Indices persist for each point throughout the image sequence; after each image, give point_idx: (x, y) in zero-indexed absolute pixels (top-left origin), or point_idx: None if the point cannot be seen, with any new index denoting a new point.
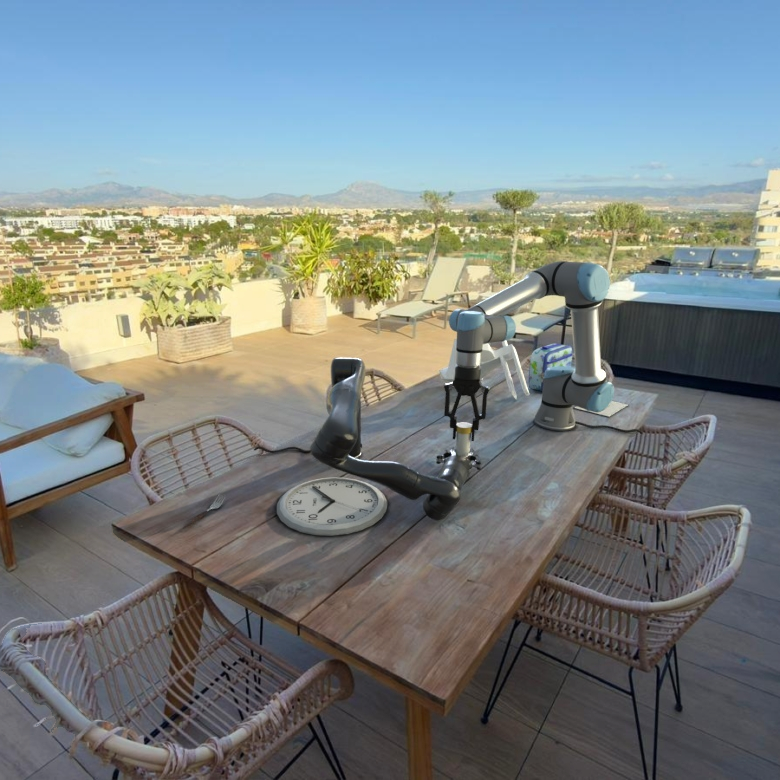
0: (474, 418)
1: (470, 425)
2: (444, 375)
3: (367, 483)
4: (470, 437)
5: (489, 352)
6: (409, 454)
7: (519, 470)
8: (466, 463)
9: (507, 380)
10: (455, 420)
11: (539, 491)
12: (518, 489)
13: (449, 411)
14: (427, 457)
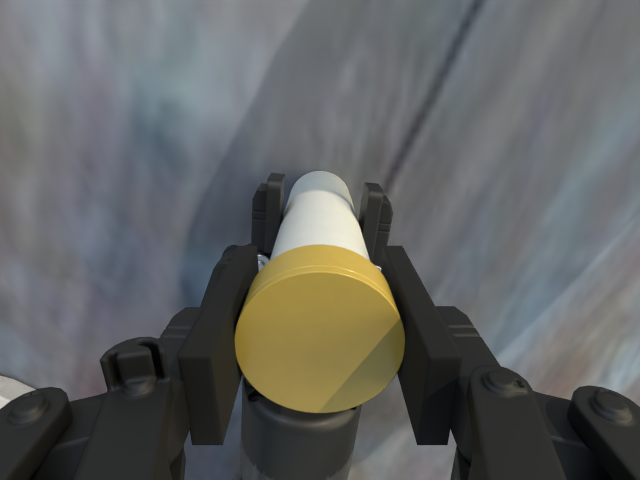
0: (446, 369)
1: (384, 347)
2: None
3: (3, 405)
4: None
5: None
6: (16, 44)
7: (602, 108)
8: (351, 433)
9: None
10: (216, 432)
11: (625, 287)
12: (546, 289)
13: (65, 448)
14: (124, 61)
